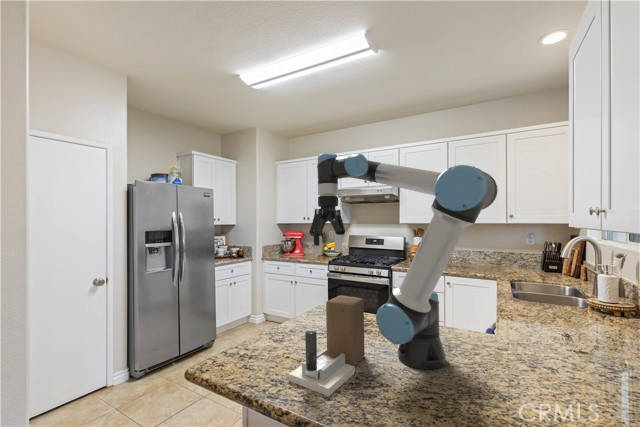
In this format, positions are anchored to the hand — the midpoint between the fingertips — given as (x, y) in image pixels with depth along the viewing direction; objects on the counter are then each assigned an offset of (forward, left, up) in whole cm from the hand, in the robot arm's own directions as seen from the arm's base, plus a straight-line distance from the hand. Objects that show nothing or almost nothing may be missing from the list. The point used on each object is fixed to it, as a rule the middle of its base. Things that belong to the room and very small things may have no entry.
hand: (328, 253), depth 109 cm
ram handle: (-9, +20, -32) cm, 39 cm away
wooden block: (-9, +4, -35) cm, 36 cm away
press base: (-9, +18, -35) cm, 40 cm away
